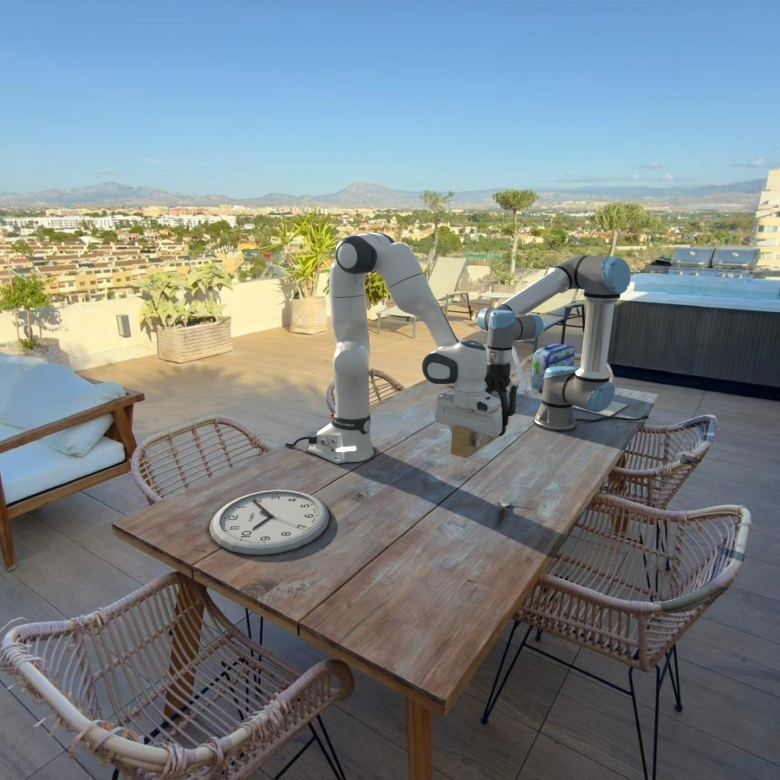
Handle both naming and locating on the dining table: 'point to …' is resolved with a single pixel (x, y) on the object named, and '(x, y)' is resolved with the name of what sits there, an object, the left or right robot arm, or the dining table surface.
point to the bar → (468, 441)
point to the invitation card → (608, 409)
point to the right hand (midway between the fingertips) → (492, 432)
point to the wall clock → (269, 522)
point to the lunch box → (550, 361)
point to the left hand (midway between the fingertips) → (466, 443)
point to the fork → (504, 504)
